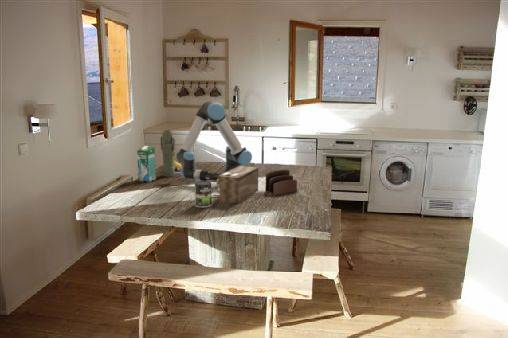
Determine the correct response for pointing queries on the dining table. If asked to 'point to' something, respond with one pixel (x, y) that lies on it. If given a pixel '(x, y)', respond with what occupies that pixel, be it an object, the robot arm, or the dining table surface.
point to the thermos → (168, 153)
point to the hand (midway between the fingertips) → (232, 178)
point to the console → (238, 184)
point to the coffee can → (203, 194)
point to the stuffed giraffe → (177, 165)
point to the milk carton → (146, 163)
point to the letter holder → (280, 182)
